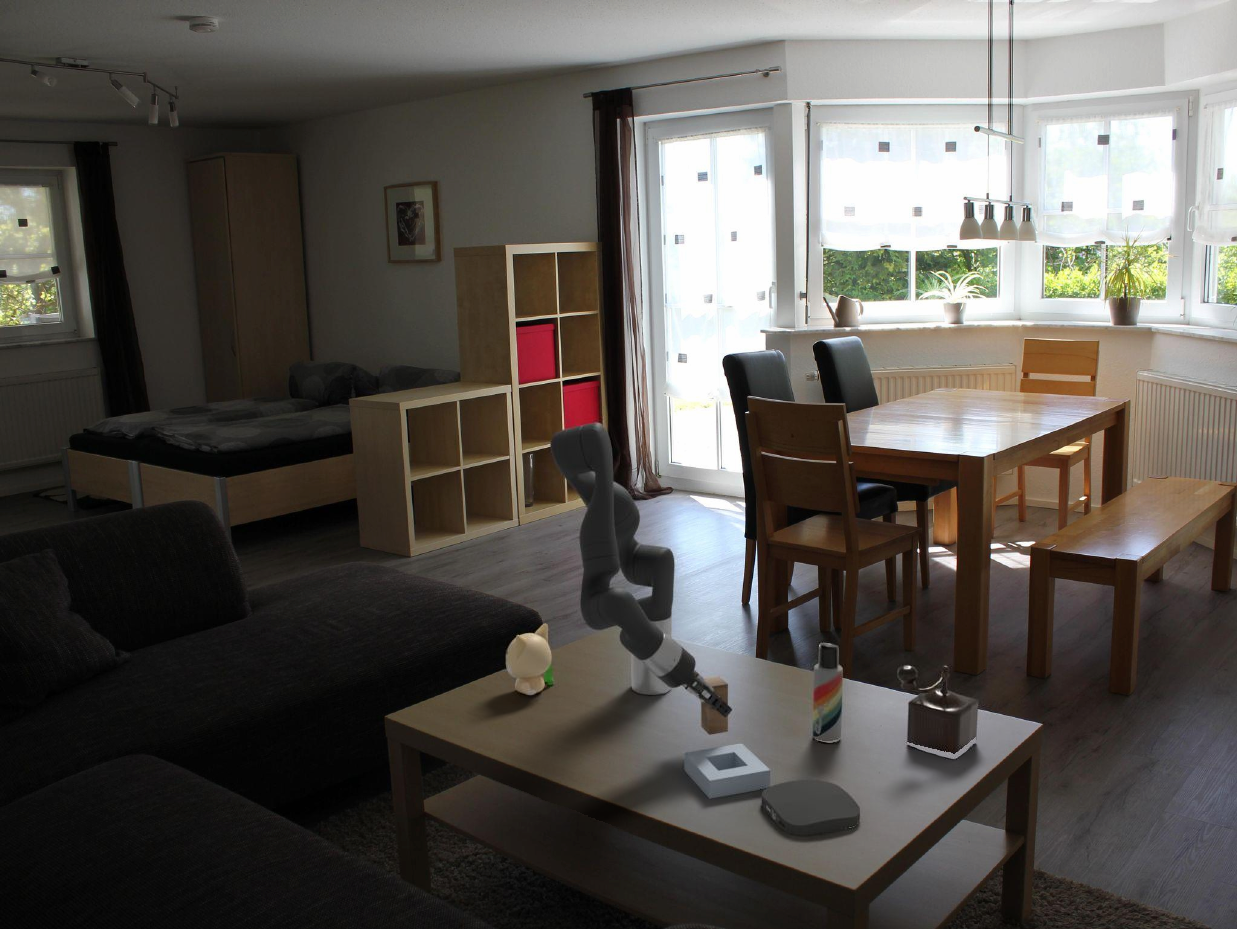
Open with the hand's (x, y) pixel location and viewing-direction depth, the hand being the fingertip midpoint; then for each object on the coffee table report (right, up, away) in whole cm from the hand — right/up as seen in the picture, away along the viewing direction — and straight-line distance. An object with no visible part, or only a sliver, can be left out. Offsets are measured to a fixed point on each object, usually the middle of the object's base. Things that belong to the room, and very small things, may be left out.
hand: (723, 708), depth 212 cm
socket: (-1, -10, -13) cm, 16 cm away
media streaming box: (+13, -13, -25) cm, 31 cm away
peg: (-2, -4, 0) cm, 5 cm away
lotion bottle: (+21, -7, +4) cm, 23 cm away
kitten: (-41, -3, +31) cm, 51 cm away
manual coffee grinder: (+42, -8, -1) cm, 42 cm away
